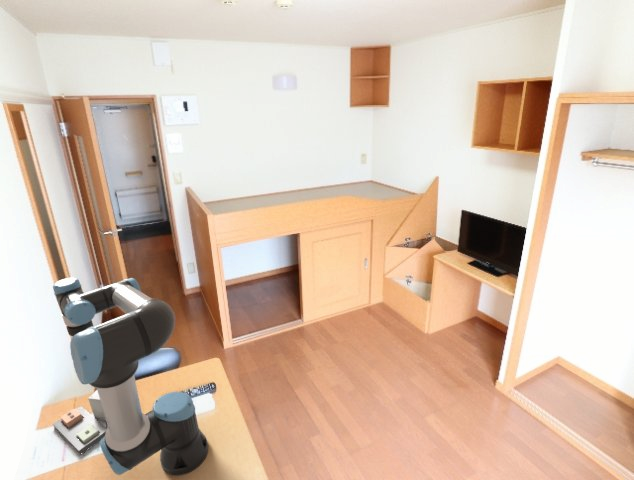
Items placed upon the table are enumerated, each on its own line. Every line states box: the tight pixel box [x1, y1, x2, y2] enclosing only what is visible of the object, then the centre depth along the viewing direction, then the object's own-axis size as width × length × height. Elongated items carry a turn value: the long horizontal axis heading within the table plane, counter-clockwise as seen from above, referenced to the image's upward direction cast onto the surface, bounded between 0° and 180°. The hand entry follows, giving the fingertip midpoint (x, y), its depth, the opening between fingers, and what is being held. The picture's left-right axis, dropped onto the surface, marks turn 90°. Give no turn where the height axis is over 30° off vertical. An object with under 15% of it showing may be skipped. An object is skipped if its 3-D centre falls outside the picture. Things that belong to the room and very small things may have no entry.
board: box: [52, 405, 108, 455], centre depth 135 cm, size 20×10×2 cm, turn 55°
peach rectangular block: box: [60, 407, 83, 429], centre depth 138 cm, size 5×5×3 cm
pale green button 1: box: [77, 424, 99, 445], centre depth 132 cm, size 5×5×3 cm
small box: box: [87, 389, 107, 422], centre depth 141 cm, size 8×6×10 cm
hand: (96, 375), depth 137 cm, fingers closed
